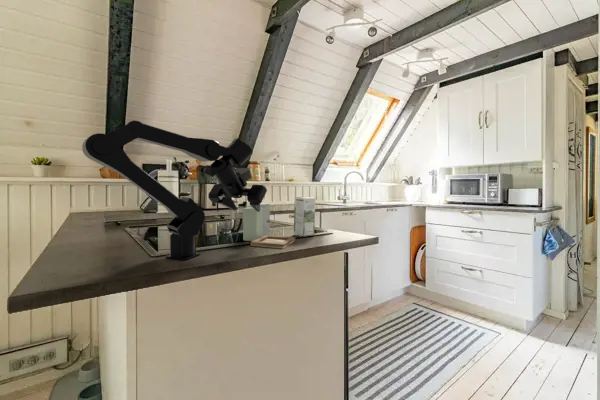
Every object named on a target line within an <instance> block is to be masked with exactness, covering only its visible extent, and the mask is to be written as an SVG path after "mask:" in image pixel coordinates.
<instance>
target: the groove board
mask: <svg viewBox="0 0 600 400" xmlns="http://www.w3.org/2000/svg"><path fill="white" fill-rule="evenodd" d="M294 242H296V237H294V236H281V235H265V236H263V237H261V238H258V239H256V240H254V241H250V246H251V247H263V248H271V249H272V248H274V249H284V248H287V247H288V246H290V245H291V244H293V243H294Z"/></svg>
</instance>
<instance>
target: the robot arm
mask: <svg viewBox="0 0 600 400" xmlns="http://www.w3.org/2000/svg"><path fill="white" fill-rule="evenodd" d="M135 140H137V141H141V142H144V143H145V142H146V143H148V144H153V145H157V146H161V147H163V148H166V149H171V150H175V151H179V152H182V153H184V154H186V155H188V157H190V158H192V159H195V160H197V161H199V162H203V163H204V162H205V163H207V162H212V163H211V164H209V165H208V164H207V165H205V169H204V172H203V174H204V175H207V176H209V177H213V178H214V177H215V179H216V180H217V181H218V183H214V185H213V186H212V188H211V190H210V191H209V193H208V199H209V201H210V202H212V203H215V204H219V205H221V206H222V207H226V208H228V209H230V210H232V211H235V212H236V211H237V210H238V209H237V205H236V204H235V202H234V200H233V198H234V199H238V198H240V196H242V197H246V200H247V203H249V206H250V207H251V206H252V207H253V208H254V209H255V210H256V211H258V212H260V203H263V200H264V198H265V195H266V193H267V191H268V189H267V187H266V185H265V184H252V185H251V187H250V188H245V187H247V185H248V183H247V181H249V180H250V179H252V174H251V170H250V168H249V167H241V166H242V165H244V163H246V161H248V159H249V158H250V157H251V156H252V155H253V150H252V147H251V146H250V145H248V144H247V143H246V142H244V141H242V140H241V139H240V137H236V138H234V139H233V140H232V142H231V143H230V144H229V145H227V146H222V145H220V142H218V141H217V140H214V139H208V138H198V137H189V136H185V135H182V134H179V133H175V132H172V131H168V130H165V129H162V128H159V127H156V126H152V125H149V124H146V123H143V122H141V121H140V120H135V119H134V120H131V121H129V122H127V123H126V124H124V125H123V126H120V127H118V128H116V129H115V130H113V131H110V132H108V133H101V132H100V133H99V132H98V133H93V134H91V135H89V137H87V138H86V139H85V140H84V141H83V142H82V146H81V148H82V153H83V155H84V156H85V157H86V158H88V159H89V160H91V161H92V162H95V163H97V164H98V165H100V166H102V167H105V168H107V169H109V170H111V171H113V172H115V173H117V174H119V175H121V176H122V177H123V178H124V179H125V180H127V181H128V182H130V184H132V185H134V186H135V187H136V188H138V189H139V190H140V191H142V192H143V193H145V194H146V195H147V196H149V197H150V198H151V199H153V200H154V201H155V202H156V203H158V204H159V205H161V206H162V207H164V208H165V210H166V211H167V213H168V214H169V215H170V216H171V217H172V219H171V220H169V223H167V224H166V229H167V230H168V232H169V233H171V234H170V236H169V241H170V244H169V245H170V249H169V250H170V253H169V254H167V255H165V258H166V259H174V260H182V261H186V260H189V259H191V258H194V257H197V256H199V255H201V252H199V251H197V238H196V236H198V235H199V232H200V229H201V227H202V226H203V225H204V224H205V221H206V213H205V212H204V211H203V206H201V205H199V204H197V203H196V202H195V201H194V200H193V199H192V198H191V197H185V196H182V197H181V198H179V197H178V196H177V195H176V194H174V193H173V192H172V191H171V190H169V189H168V188H166V187H165V186H164V185H163V184H161V182H159V181H158V180H157V179H156V178H154V177H152V176H151V175H150V174H148V172H146V171H145V170H143V168H141V167H140V166H139V165H137V164H136V163H135V162H133V161H132V160H131V158H130V157H129V155H128V154H127V153H126V152H125V150H124V149H123V147H124V146H125V145H127V144H129V143H131V142H133V141H135ZM237 167H238V168H237Z"/></svg>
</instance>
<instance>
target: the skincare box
mask: <svg viewBox="0 0 600 400" xmlns="http://www.w3.org/2000/svg"><path fill="white" fill-rule="evenodd" d="M270 204H271V203H268V202H267V203H266V202H261V203H260V208H263V236H265V235H270V234H271V230H270V227H271V225H270V224H271V214H270V213H271V205H270ZM250 207H252V206H251V205H250ZM270 236H271V235H270Z"/></svg>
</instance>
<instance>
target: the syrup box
mask: <svg viewBox="0 0 600 400" xmlns="http://www.w3.org/2000/svg"><path fill="white" fill-rule="evenodd" d="M293 205H294V206H293V207H294V209H293V210H294V212H293V235H294V234H295V235H294V236H297V235H300V236H299V237H302V236H303V237H302V238H304V237H311V236H315V228H316V227H315V226H316V224H315V222H316V217H315V216H316V197H312V196H299V197H297V196H295V197H294V203H293Z"/></svg>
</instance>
